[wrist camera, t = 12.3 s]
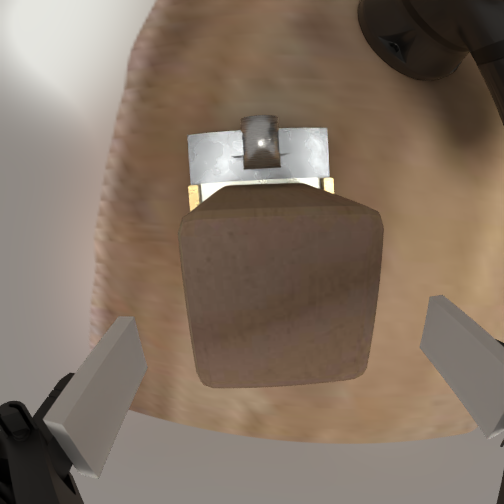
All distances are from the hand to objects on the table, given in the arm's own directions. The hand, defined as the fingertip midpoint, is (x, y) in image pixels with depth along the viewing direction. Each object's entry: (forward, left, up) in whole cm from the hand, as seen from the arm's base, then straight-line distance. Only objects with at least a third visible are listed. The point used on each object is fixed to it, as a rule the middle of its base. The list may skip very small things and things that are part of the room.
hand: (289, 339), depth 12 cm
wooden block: (0, 0, -22) cm, 22 cm away
